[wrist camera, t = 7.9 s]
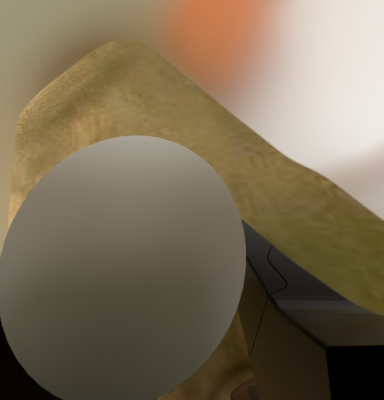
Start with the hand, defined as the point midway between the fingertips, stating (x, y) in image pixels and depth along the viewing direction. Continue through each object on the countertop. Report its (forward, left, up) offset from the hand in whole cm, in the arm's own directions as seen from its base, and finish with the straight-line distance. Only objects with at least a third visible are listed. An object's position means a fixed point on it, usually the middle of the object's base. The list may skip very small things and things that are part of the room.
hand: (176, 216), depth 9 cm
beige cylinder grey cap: (-1, 0, -8) cm, 8 cm away
